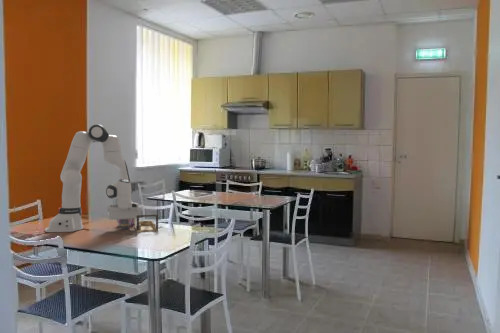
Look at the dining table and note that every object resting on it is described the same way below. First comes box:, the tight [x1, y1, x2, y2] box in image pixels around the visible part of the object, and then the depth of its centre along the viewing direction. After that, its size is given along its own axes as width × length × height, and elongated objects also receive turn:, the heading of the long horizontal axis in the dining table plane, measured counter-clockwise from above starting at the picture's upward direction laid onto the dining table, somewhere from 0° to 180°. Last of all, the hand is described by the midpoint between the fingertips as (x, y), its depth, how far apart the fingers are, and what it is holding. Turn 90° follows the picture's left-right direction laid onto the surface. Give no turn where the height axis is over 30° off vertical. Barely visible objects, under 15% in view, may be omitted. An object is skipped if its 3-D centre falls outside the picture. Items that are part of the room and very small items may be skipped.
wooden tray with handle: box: [133, 213, 159, 233], centre depth 283 cm, size 13×16×11 cm
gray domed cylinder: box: [120, 219, 129, 231], centre depth 283 cm, size 5×5×6 cm
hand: (124, 225), depth 283 cm, fingers closed on gray domed cylinder, 5 cm apart
